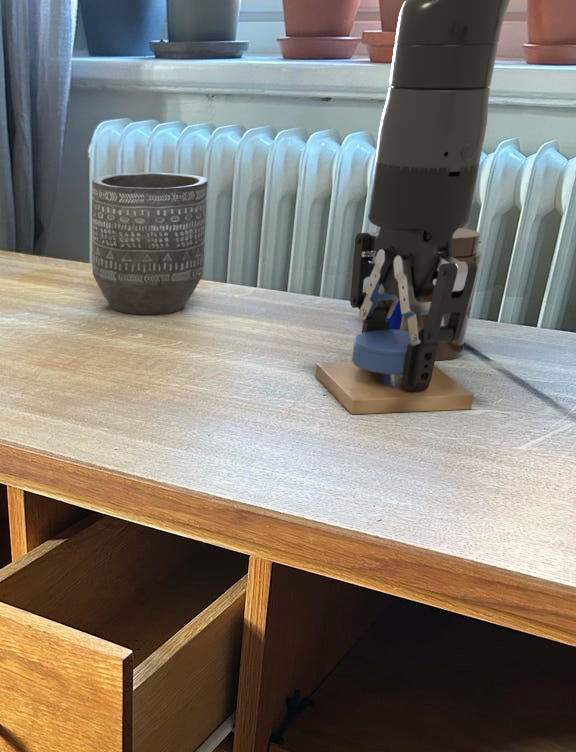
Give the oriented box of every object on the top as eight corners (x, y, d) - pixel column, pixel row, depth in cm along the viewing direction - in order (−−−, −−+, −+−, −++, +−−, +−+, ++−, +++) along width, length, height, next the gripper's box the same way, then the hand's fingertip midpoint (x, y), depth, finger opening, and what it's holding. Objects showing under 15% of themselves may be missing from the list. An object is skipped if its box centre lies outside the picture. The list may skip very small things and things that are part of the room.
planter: (70, 304, 107) (67, 179, 100) (148, 287, 114) (150, 168, 107) (145, 325, 99) (148, 191, 92) (224, 305, 106) (232, 179, 99)
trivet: (422, 371, 86) (425, 358, 85) (471, 409, 77) (474, 394, 77) (314, 376, 85) (316, 362, 84) (351, 414, 77) (353, 400, 76)
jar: (445, 341, 94) (468, 225, 88) (472, 359, 89) (497, 237, 83) (387, 343, 93) (405, 227, 88) (410, 361, 88) (431, 239, 83)
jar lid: (349, 371, 78) (352, 349, 77) (354, 349, 83) (356, 327, 82) (432, 376, 76) (436, 353, 75) (431, 353, 82) (435, 331, 81)
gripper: (336, 148, 76) (312, 357, 85) (438, 170, 65) (397, 409, 74) (419, 145, 78) (386, 349, 87) (532, 166, 66) (481, 399, 76)
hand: (391, 376), depth 80 cm, fingers closed on jar lid, 6 cm apart
